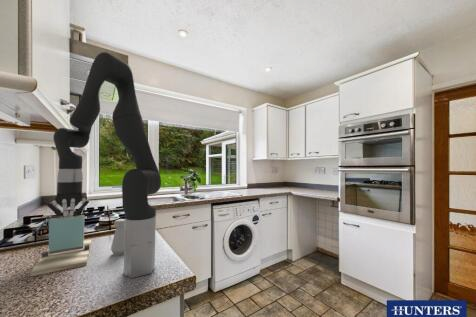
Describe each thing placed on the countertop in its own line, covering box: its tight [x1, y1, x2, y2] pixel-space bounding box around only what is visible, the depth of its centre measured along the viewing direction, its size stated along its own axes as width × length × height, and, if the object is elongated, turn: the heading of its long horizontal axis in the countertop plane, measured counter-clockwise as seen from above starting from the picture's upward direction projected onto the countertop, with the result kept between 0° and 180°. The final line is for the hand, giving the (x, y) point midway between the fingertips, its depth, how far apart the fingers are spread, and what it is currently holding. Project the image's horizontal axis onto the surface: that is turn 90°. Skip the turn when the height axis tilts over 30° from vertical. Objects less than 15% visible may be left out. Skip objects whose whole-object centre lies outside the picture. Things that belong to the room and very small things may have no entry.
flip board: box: [29, 238, 93, 277], centre depth 77 cm, size 26×14×3 cm, turn 32°
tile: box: [48, 214, 85, 254], centre depth 77 cm, size 13×10×1 cm
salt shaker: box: [110, 218, 125, 256], centre depth 80 cm, size 6×6×13 cm
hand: (68, 226), depth 78 cm, fingers closed
